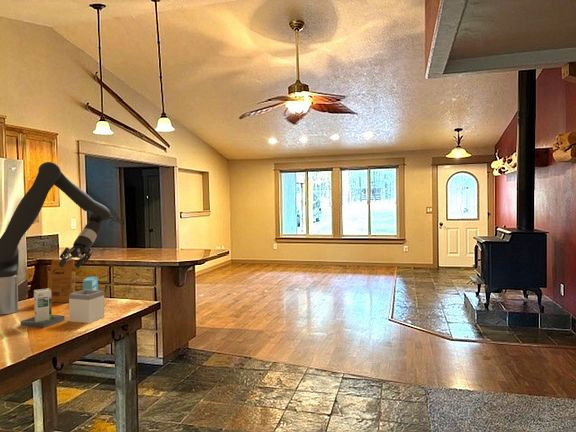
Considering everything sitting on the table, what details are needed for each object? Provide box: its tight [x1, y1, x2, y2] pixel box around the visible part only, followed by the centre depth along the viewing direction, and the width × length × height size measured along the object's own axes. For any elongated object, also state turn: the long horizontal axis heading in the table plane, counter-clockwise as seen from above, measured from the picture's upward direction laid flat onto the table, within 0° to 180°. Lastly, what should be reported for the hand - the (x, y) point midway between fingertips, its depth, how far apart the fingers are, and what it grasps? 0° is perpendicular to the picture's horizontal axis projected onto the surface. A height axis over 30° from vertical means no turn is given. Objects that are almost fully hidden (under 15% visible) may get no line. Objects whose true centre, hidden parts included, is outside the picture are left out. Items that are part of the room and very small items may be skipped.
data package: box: [82, 276, 99, 290], centre depth 223 cm, size 12×4×12 cm, turn 11°
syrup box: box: [33, 287, 53, 323], centre depth 182 cm, size 6×6×14 cm
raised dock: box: [68, 289, 105, 324], centre depth 189 cm, size 10×10×12 cm
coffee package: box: [49, 258, 76, 304], centre depth 222 cm, size 10×12×22 cm
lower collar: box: [20, 314, 66, 329], centre depth 183 cm, size 12×12×2 cm
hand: (68, 266), depth 197 cm, fingers open, 8 cm apart
